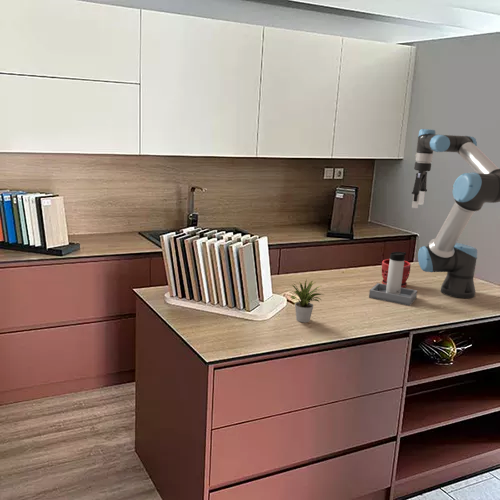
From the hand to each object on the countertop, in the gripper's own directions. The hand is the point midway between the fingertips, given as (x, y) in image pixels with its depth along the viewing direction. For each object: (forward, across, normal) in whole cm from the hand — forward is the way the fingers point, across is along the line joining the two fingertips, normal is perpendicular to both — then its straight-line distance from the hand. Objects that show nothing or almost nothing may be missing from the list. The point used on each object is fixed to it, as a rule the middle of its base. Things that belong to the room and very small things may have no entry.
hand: (417, 206), depth 273 cm
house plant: (+37, +87, -22) cm, 97 cm away
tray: (+37, +36, +1) cm, 51 cm away
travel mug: (+36, +36, +1) cm, 51 cm away
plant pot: (+37, +18, -3) cm, 41 cm away
